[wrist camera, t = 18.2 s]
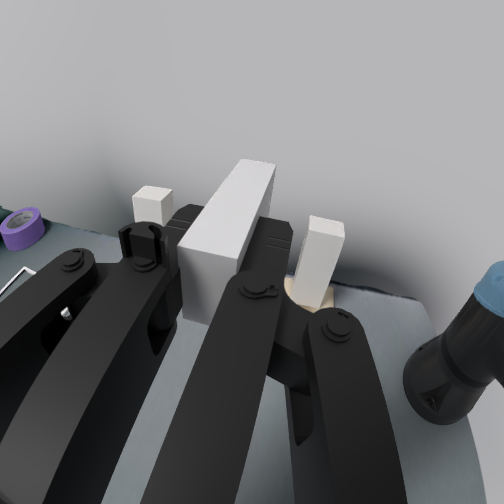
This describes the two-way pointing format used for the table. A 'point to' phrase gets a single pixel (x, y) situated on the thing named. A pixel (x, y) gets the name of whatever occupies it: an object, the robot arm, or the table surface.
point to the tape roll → (22, 229)
